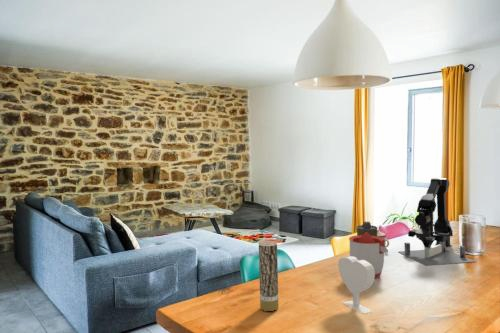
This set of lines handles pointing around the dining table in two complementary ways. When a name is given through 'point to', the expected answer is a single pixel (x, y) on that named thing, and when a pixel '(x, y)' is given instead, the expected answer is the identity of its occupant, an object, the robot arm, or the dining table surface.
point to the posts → (462, 250)
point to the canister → (367, 229)
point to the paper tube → (268, 275)
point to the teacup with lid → (382, 235)
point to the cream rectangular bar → (433, 250)
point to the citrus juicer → (369, 250)
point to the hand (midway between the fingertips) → (427, 251)
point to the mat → (437, 258)
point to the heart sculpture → (356, 279)
